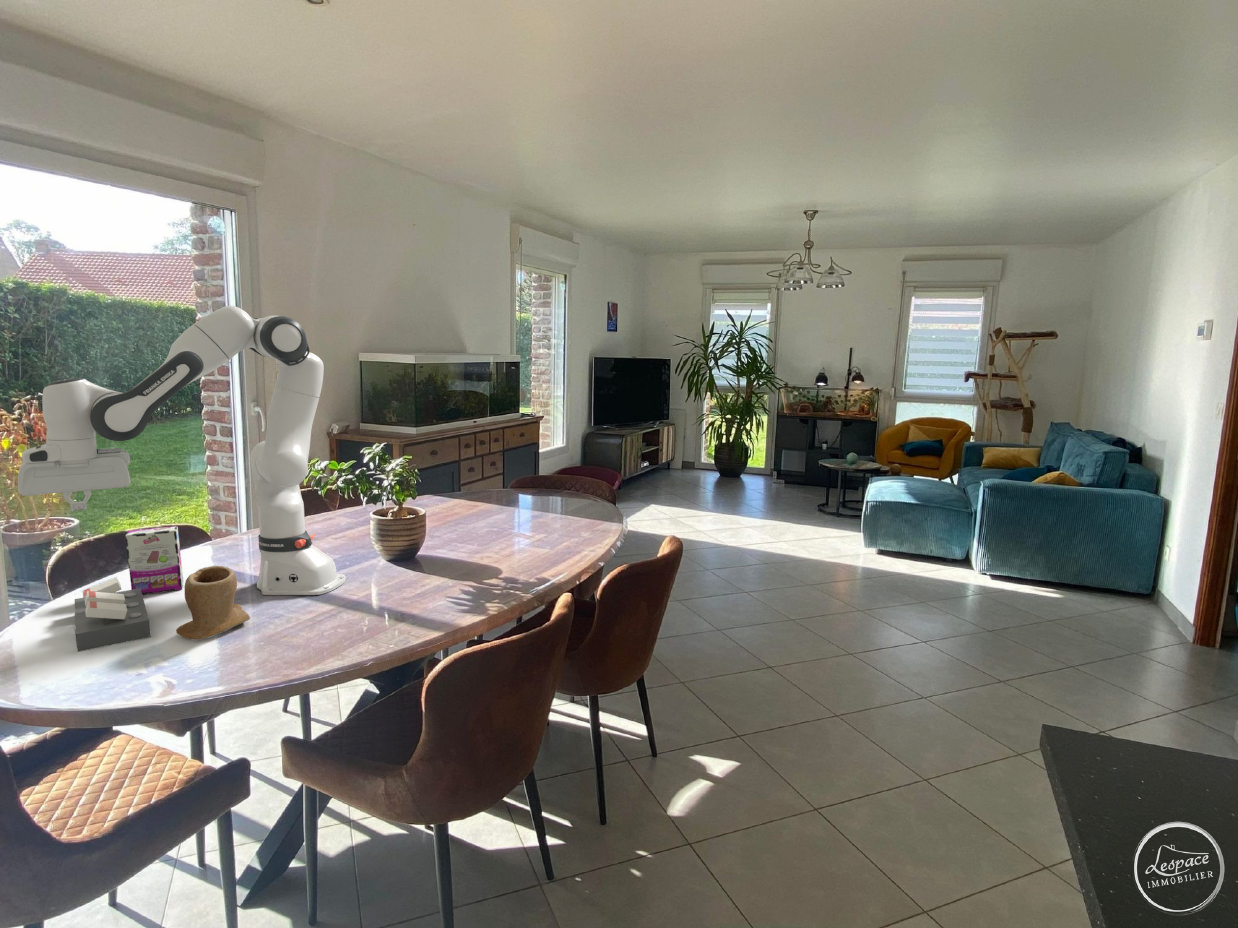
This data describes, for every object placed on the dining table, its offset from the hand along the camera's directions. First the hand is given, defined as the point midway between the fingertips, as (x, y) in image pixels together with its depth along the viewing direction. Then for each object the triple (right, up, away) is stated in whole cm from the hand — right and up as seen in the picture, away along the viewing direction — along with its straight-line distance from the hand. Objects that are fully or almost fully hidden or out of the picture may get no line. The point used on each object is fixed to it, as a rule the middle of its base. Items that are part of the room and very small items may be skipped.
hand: (79, 510), depth 159 cm
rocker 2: (+6, -21, 0) cm, 22 cm away
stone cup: (+32, -28, 0) cm, 42 cm away
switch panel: (+7, -27, +1) cm, 28 cm away
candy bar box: (+2, -23, +24) cm, 33 cm away
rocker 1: (+1, -20, +5) cm, 21 cm away
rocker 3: (+11, -22, -6) cm, 25 cm away
